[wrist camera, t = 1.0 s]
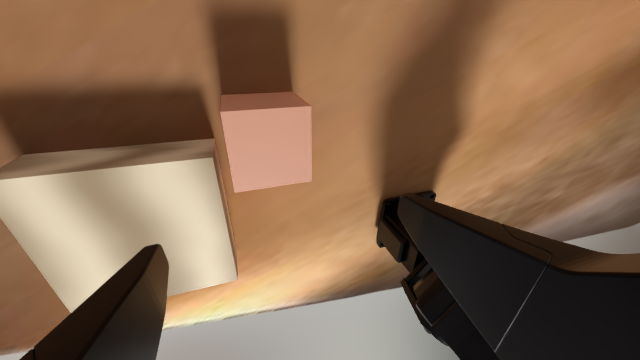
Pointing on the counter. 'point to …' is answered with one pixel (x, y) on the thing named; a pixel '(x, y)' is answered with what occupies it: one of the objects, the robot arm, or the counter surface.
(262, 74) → the counter surface
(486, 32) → the counter surface
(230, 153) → the cube
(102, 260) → the birch block
